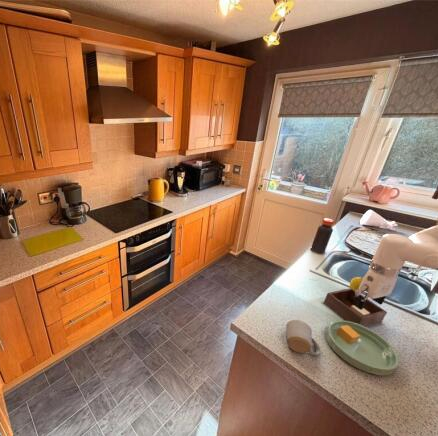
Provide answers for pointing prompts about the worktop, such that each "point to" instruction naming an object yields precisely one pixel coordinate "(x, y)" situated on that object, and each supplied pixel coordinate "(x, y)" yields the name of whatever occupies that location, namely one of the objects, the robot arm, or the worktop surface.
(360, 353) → the plate
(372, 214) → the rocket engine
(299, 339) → the ceramic mug
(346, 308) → the holder
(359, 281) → the lemon
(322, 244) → the bottle
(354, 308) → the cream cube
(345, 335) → the orange block
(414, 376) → the worktop surface
